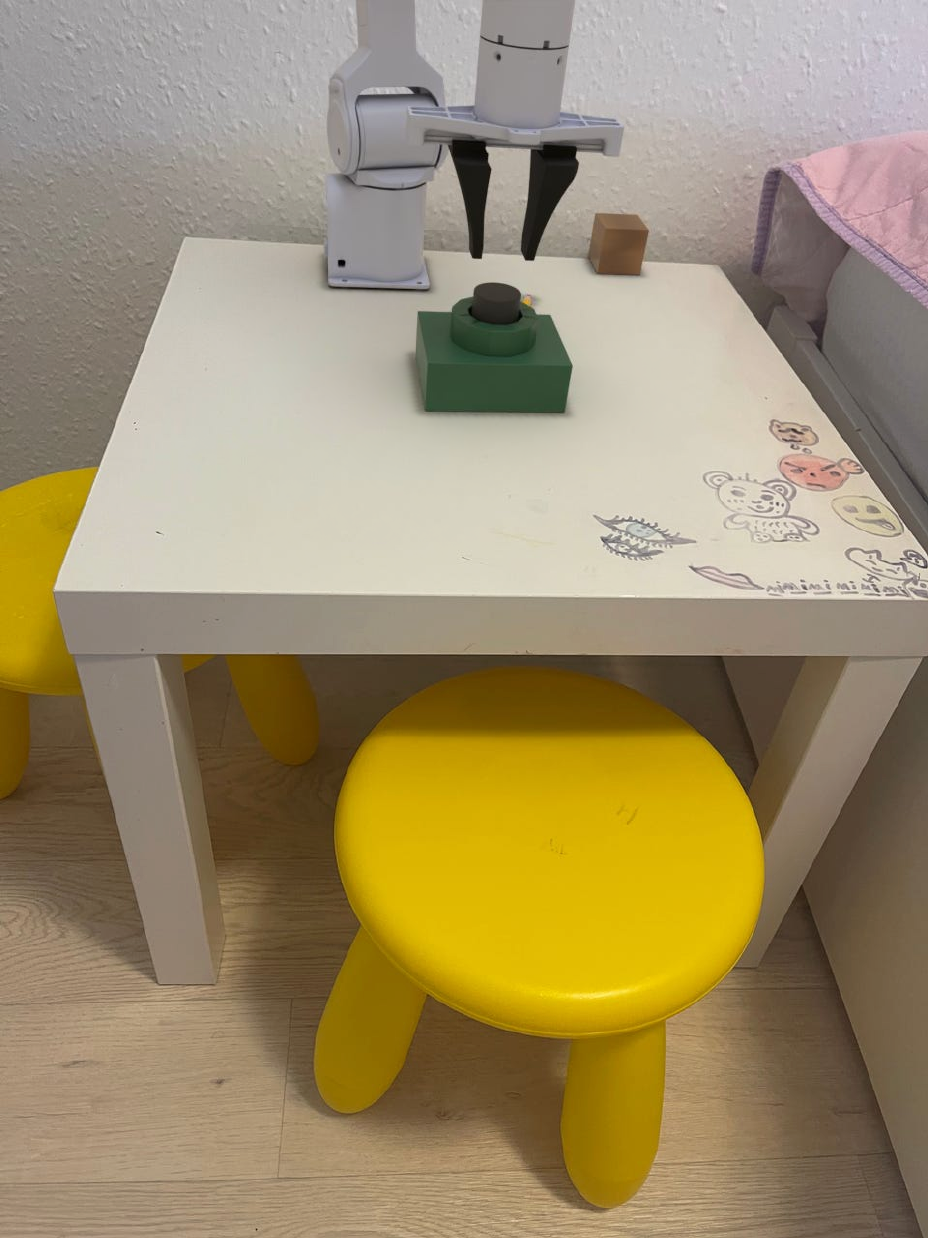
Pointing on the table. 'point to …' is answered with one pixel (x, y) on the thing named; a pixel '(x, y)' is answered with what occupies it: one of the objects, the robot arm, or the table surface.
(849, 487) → the table surface
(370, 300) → the table surface
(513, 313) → the dark grey push button
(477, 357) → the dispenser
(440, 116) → the robot arm
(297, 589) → the table surface
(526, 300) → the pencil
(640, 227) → the block
